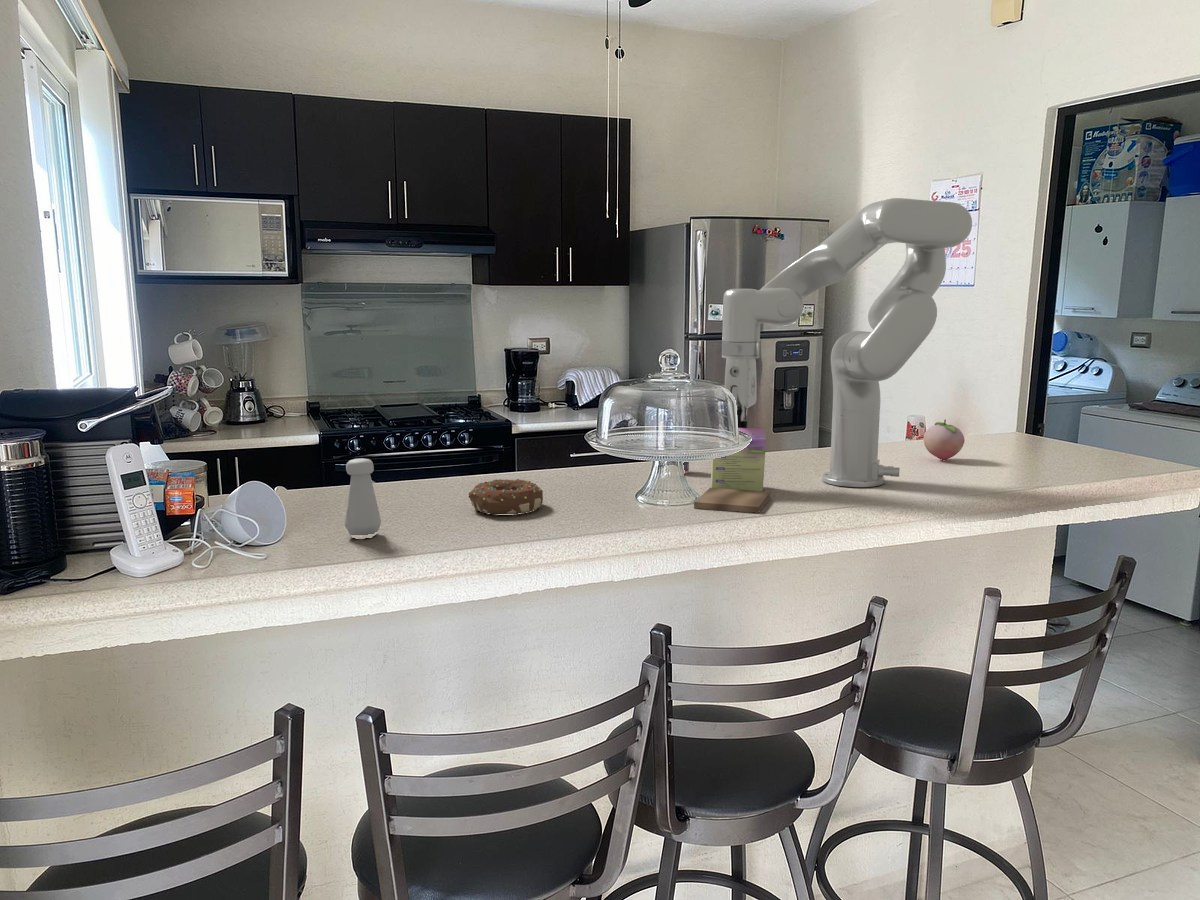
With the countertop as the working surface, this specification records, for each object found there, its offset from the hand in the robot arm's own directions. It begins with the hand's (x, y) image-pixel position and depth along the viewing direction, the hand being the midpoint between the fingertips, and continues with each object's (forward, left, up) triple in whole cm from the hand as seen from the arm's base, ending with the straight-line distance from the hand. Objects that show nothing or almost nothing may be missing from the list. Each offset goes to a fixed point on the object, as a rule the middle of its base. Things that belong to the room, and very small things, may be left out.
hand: (737, 439), depth 175 cm
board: (-2, +15, -10) cm, 18 cm away
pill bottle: (+16, -10, -10) cm, 21 cm away
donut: (+37, +33, -10) cm, 51 cm away
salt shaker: (+51, +58, -10) cm, 78 cm away
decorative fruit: (-40, -43, -10) cm, 60 cm away
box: (0, +2, -9) cm, 9 cm away
